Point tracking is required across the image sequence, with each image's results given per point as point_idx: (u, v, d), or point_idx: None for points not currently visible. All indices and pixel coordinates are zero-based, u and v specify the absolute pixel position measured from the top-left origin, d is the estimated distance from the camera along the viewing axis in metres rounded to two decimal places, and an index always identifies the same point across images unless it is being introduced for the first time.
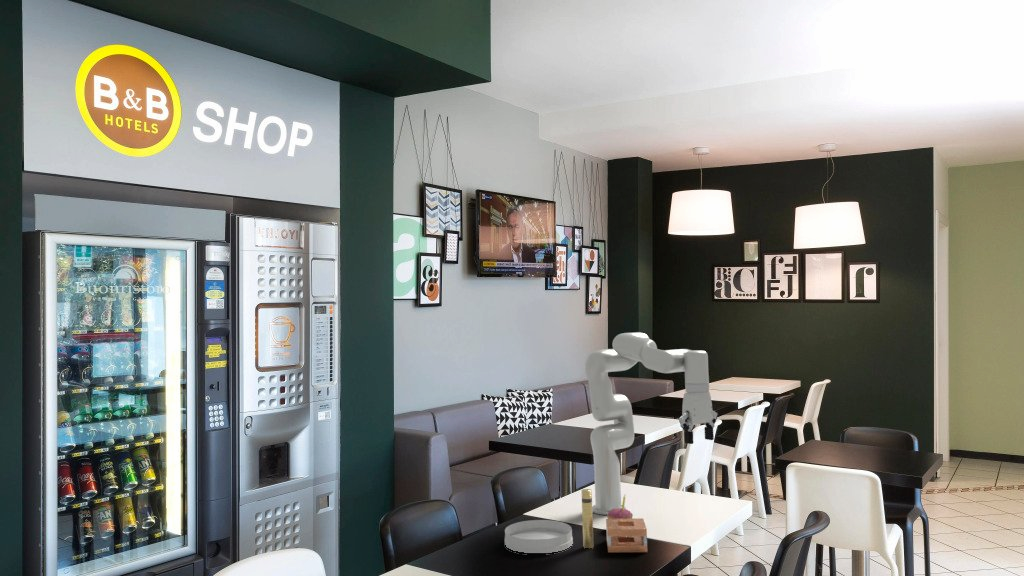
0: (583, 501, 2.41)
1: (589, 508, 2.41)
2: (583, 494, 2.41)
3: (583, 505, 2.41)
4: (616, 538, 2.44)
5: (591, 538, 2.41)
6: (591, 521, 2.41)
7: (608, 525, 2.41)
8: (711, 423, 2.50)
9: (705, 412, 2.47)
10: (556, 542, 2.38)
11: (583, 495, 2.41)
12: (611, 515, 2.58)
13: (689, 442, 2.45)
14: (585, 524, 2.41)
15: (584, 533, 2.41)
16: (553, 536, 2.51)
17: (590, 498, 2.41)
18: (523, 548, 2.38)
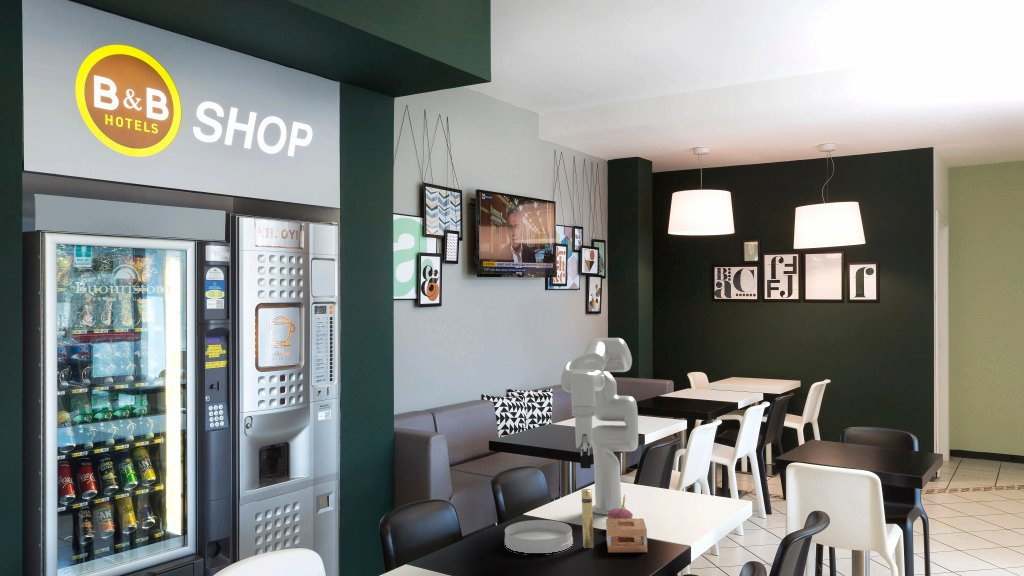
0: (583, 501, 2.41)
1: (589, 508, 2.41)
2: (583, 494, 2.41)
3: (583, 505, 2.41)
4: (616, 538, 2.44)
5: (591, 538, 2.41)
6: (591, 521, 2.41)
7: (608, 525, 2.41)
8: None
9: None
10: (556, 542, 2.38)
11: (583, 495, 2.41)
12: (611, 515, 2.58)
13: (587, 467, 2.37)
14: (585, 524, 2.41)
15: (584, 533, 2.41)
16: (553, 536, 2.51)
17: (590, 498, 2.41)
18: (523, 548, 2.38)
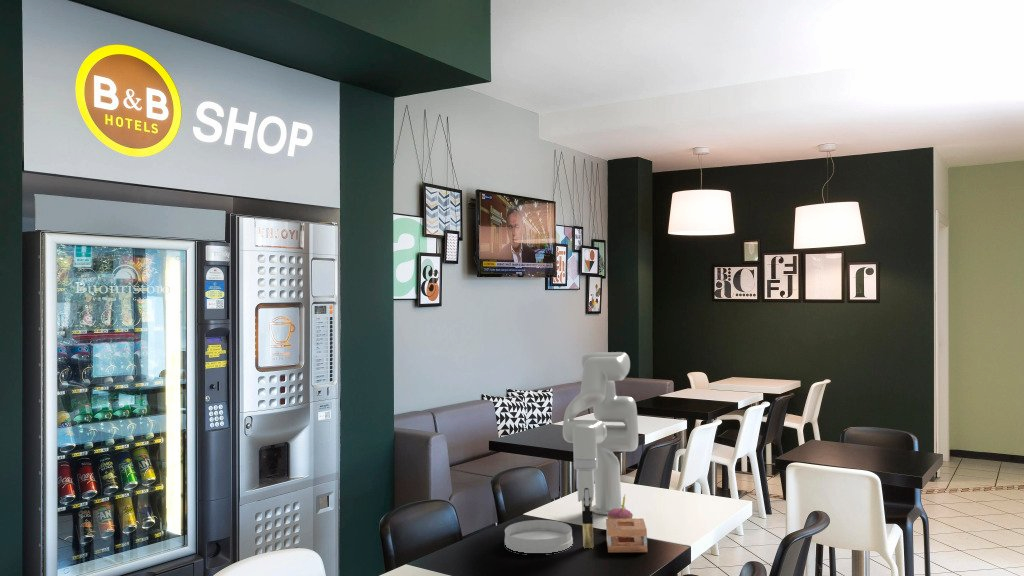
0: None
1: None
2: None
3: None
4: (616, 538, 2.44)
5: (591, 538, 2.41)
6: None
7: (608, 525, 2.41)
8: None
9: None
10: (556, 542, 2.38)
11: None
12: (611, 515, 2.58)
13: (589, 522, 2.40)
14: (585, 524, 2.41)
15: (584, 533, 2.41)
16: (553, 536, 2.51)
17: None
18: (523, 548, 2.38)
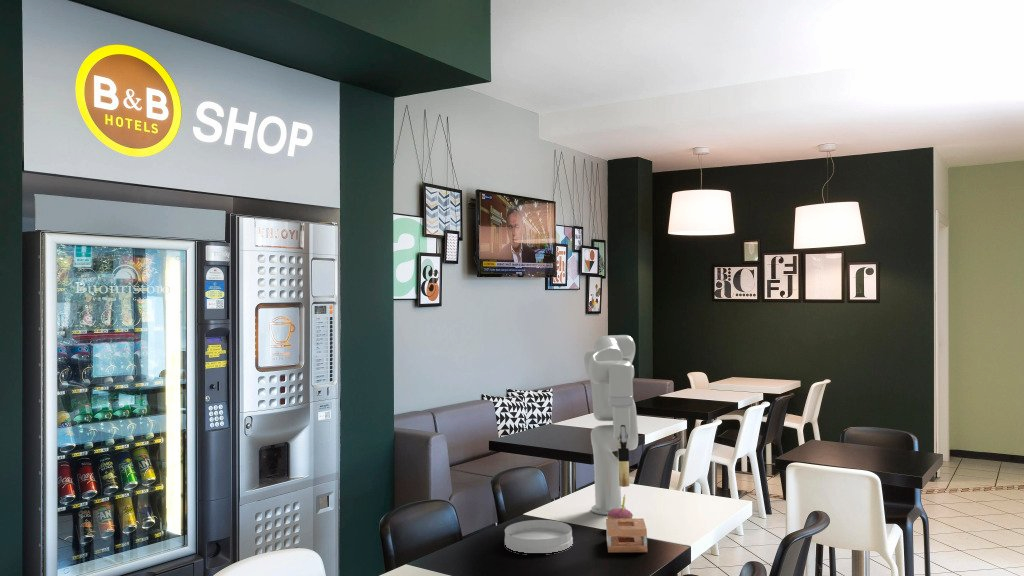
0: None
1: None
2: None
3: None
4: (616, 538, 2.44)
5: (627, 476, 2.41)
6: None
7: (608, 525, 2.41)
8: None
9: None
10: (556, 542, 2.38)
11: None
12: (611, 515, 2.58)
13: (625, 460, 2.40)
14: (621, 461, 2.41)
15: (620, 471, 2.41)
16: (553, 536, 2.51)
17: None
18: (523, 548, 2.38)
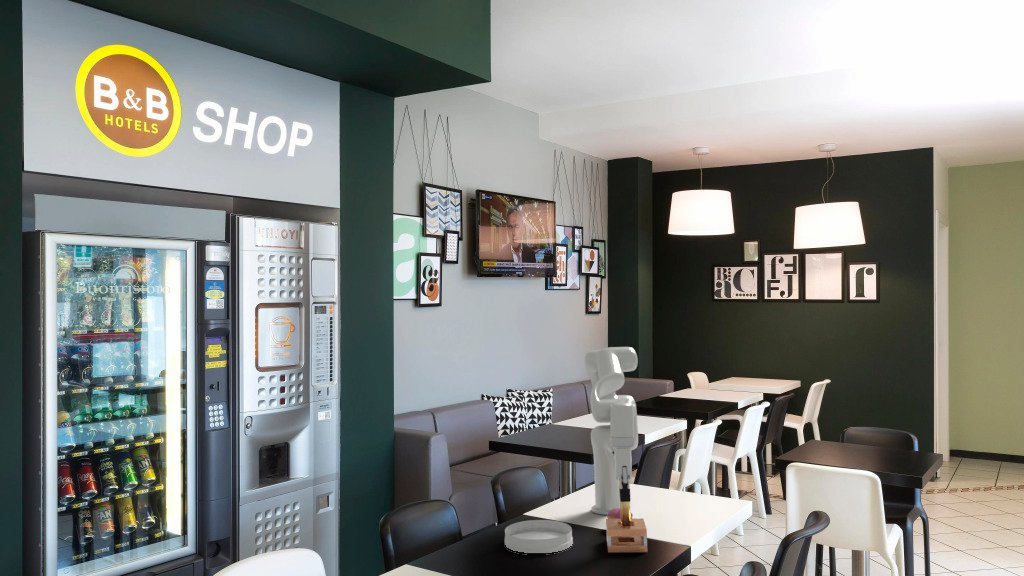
0: None
1: None
2: None
3: None
4: (616, 538, 2.44)
5: (629, 516, 2.41)
6: None
7: (608, 525, 2.41)
8: None
9: None
10: (556, 542, 2.38)
11: None
12: (611, 515, 2.58)
13: (626, 500, 2.40)
14: (623, 502, 2.41)
15: (622, 511, 2.41)
16: (553, 536, 2.51)
17: None
18: (523, 548, 2.38)
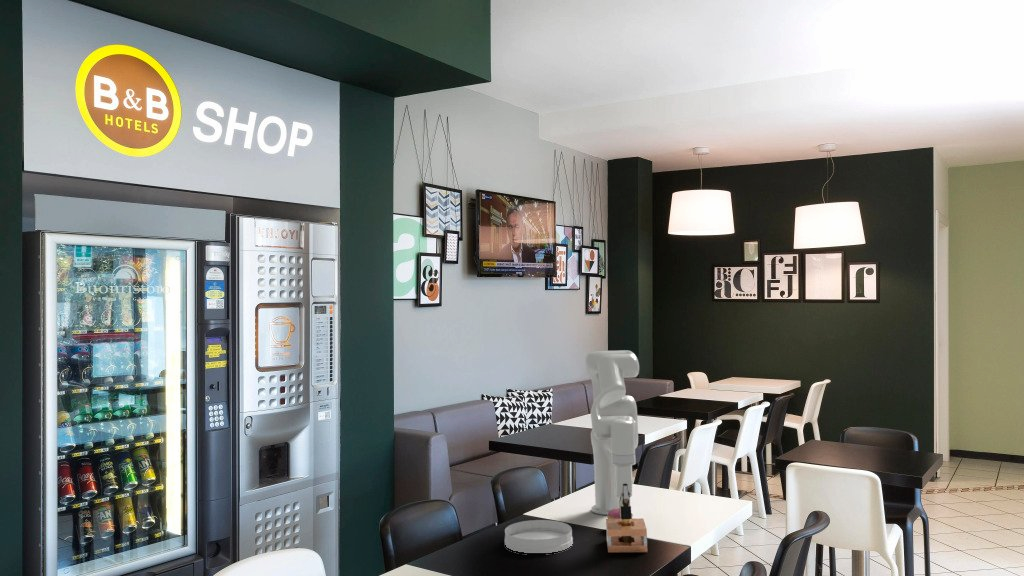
0: None
1: None
2: None
3: None
4: (616, 538, 2.44)
5: (629, 537, 2.41)
6: (629, 520, 2.41)
7: (608, 525, 2.41)
8: None
9: None
10: (556, 542, 2.38)
11: None
12: (611, 515, 2.58)
13: (627, 518, 2.38)
14: (624, 522, 2.41)
15: None
16: (553, 536, 2.51)
17: None
18: (523, 548, 2.38)
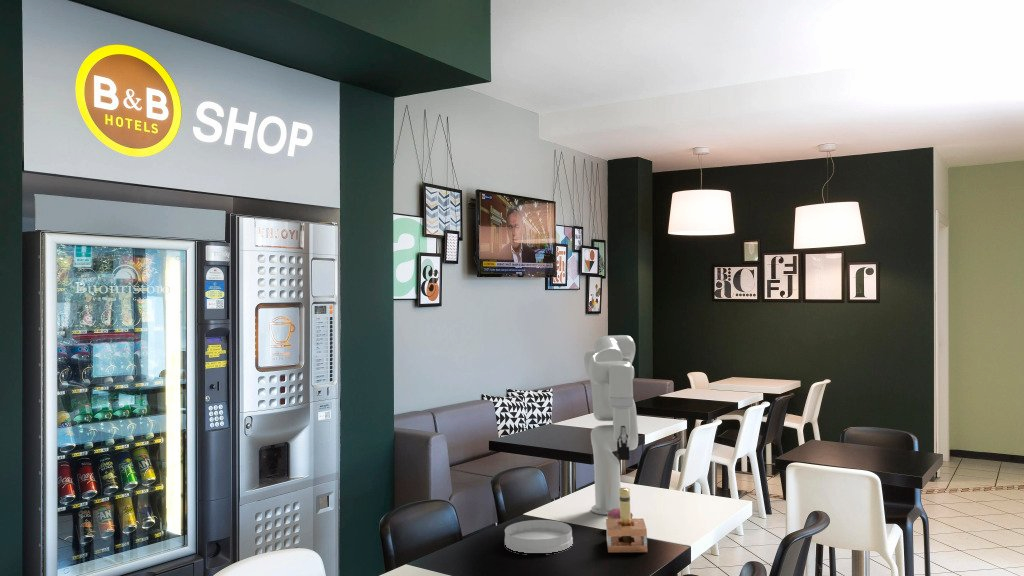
0: (621, 500, 2.41)
1: (627, 507, 2.41)
2: (621, 493, 2.41)
3: (621, 504, 2.41)
4: (616, 538, 2.44)
5: (629, 537, 2.41)
6: (629, 520, 2.41)
7: (608, 525, 2.41)
8: None
9: None
10: (556, 542, 2.38)
11: (621, 494, 2.41)
12: (611, 515, 2.58)
13: (625, 458, 2.38)
14: (624, 522, 2.41)
15: None
16: (553, 536, 2.51)
17: (628, 497, 2.41)
18: (523, 548, 2.38)
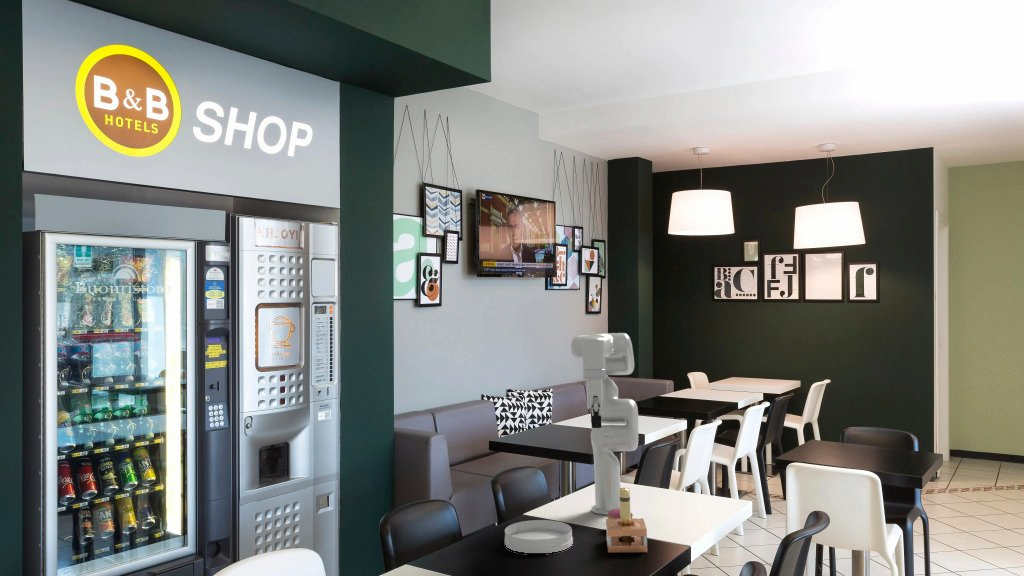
0: (621, 500, 2.41)
1: (628, 507, 2.41)
2: (621, 493, 2.41)
3: (621, 504, 2.41)
4: (616, 538, 2.44)
5: (629, 537, 2.41)
6: (629, 520, 2.41)
7: (608, 525, 2.41)
8: None
9: None
10: (556, 542, 2.38)
11: (621, 494, 2.41)
12: (611, 515, 2.58)
13: (598, 426, 2.50)
14: (624, 522, 2.41)
15: None
16: (553, 536, 2.51)
17: (628, 497, 2.41)
18: (523, 548, 2.38)
